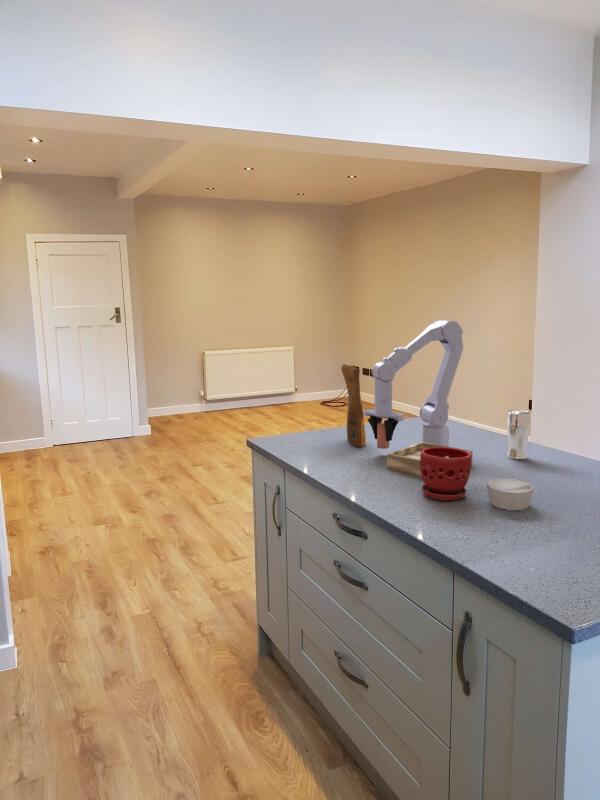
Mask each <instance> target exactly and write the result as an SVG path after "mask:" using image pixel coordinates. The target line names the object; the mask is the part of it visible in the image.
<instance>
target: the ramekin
mask: <svg viewBox="0 0 600 800" xmlns="http://www.w3.org/2000/svg"><path fill="white" fill-rule="evenodd" d="M486 488H487V493H488V500H489V503H490V505H491V506H492V507H494V506H495V507H494V508H496V507H497V508H496V509H499V508H501V509H500V510H502V509H506V510H505V511H509V510H520V511H523V510H522V509H524V510H526V509H527V508H529V506H530V504H531V501H532V496H533V493H534V490H535V489H534V486H533V485H532V484H531V483H529V482H527V481H524V480H521V479H520V480H519V479H513V478H495V479H491V480H488V482H487V483H486Z"/></svg>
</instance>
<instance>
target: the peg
mask: <svg viewBox="0 0 600 800" xmlns="http://www.w3.org/2000/svg"><path fill="white" fill-rule="evenodd" d="M376 447H377V448H378V449H389V448H390V441H386V429H385V424H384V421H382V422H379V423H377V439H376Z"/></svg>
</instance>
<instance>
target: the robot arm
mask: <svg viewBox="0 0 600 800" xmlns="http://www.w3.org/2000/svg"><path fill="white" fill-rule="evenodd" d="M463 333H464V330H463V328H462V326H461V325H460V323H458V321H456V320H447V319H446V320H444V319H436V320H435V321H433V323H431V324H429V325H428V326H427V327H426V328H425V329H424V330H423V331H422V332H421V333H420V334H419V335H418V336H416V337H415V338H414V339H413V340H411V342H409V343H408V345H406V346H399V347H395V348H394V349H393V352H392V353H390V354H389V355H388V356H387V357H383V358H382V361H379V362H377V363H375V364H374V366H373V368H372V370H371V374H372V377H374V409H368V408H367V409H364V410H363V417H369V418H367V421H368V423H369V425H370V426H371V430H372V432H373V437H374V439H375V440H377V423H379V422H384V424H385V429H386V441H389V442H390V441H392V440H393V435H394V432H395V430H396V427H397V425H398V423H399V422H402V421H404V417H405V414H402V413H398V412H396V411H393V379H395V377H396V373H398V372H399V371H400V370H401V369H403V368H404V367H405V366H406V365H407V364H409V363H410V362H411V361H412V358H413V355H414V354H415V353H417V352H419V350H421V349H423V348H424V347H425V346H427V345H428V344H429V343H430V342H431V343H432V342H433V341H434V342H435V341H439V342H440V343H441V345H442V347H443V349H444V353H443V356H442V360H441V362H440V366H439V368H438V372H437V375H436V379H435V381H434V385H433V388H432V391H431V393H430V395H429V396H428V397H427V398H426V399H425V402H424V404H423V405H422V406H421V408H420V410H419V417H420V419H421V420H422V425H421V427H422V430H421V431H422V432H421V433H422V435H421V436H422V437H421V438H422V439H421V442H425V443H431V444H437V445H442V446H448V447H450V446H449V445H450V441H449V440H450V429H449V428H448V426H447V425H446V424H447V422H448V420H449V407H450V405H449V402H448V397H449V395H450V392H451V388H452V385H453V382H454V379H455V376H456V372H457V369H458V366H459V363H460V360H461V358H462V357H461V356H462V353H463V351H464V344H463V337H462V336H463ZM383 419H385V420H383Z"/></svg>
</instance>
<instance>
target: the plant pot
mask: <svg viewBox="0 0 600 800" xmlns="http://www.w3.org/2000/svg"><path fill="white" fill-rule="evenodd" d="M456 448H457V447H454V448H447V447H432V448H426V449H423V450H422V451H421V454H420V470H421V476H420V477H421V479H422V482H423V485H422V486H421V491H422V493H423V494H424V495H425V496H426V497H428V498H431V499H434V500H436V501H456V500H459V499H462V498H463V497H464V496H466V494H467V489H466V488H465V486H466V485H467V483H468V481H469V478H470V475H471V474H470V473H471V468H472V465H471V460H472V461H473V454H472V455H471V453H469V452H467V451H465V450H466V449H465V450H461V449H462V448H459V449H456ZM446 456H449V458H445V457H446ZM428 465H429V468H428Z"/></svg>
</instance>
